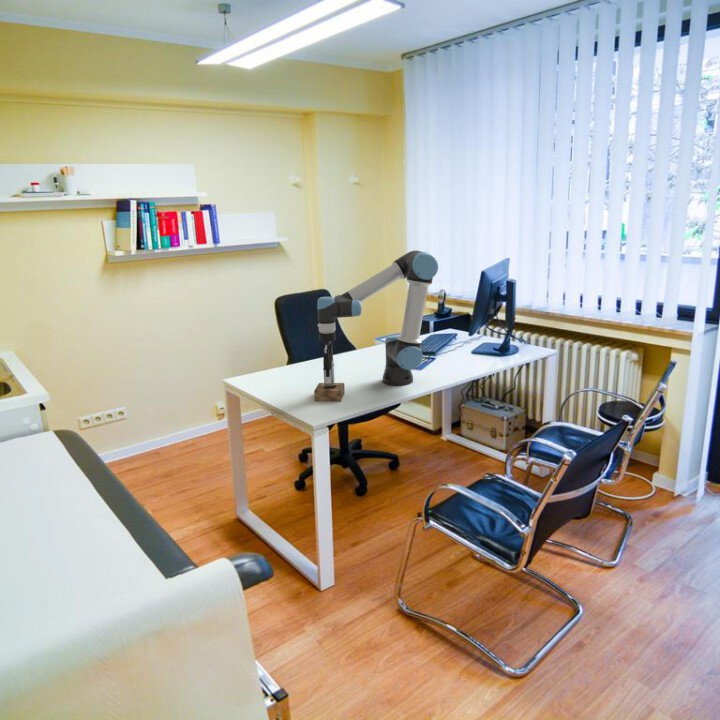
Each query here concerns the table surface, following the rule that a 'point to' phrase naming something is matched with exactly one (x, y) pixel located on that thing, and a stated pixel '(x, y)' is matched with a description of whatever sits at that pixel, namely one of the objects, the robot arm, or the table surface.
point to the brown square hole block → (329, 392)
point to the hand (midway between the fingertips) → (329, 381)
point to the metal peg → (331, 373)
